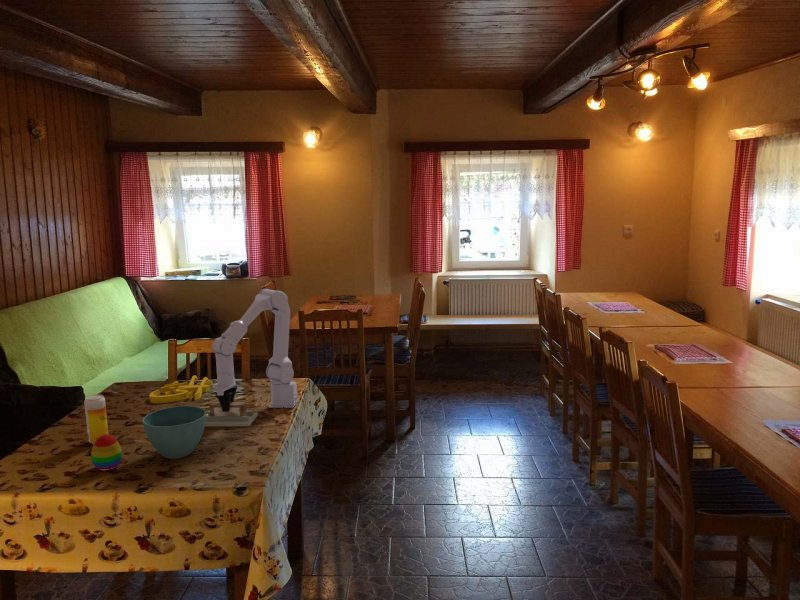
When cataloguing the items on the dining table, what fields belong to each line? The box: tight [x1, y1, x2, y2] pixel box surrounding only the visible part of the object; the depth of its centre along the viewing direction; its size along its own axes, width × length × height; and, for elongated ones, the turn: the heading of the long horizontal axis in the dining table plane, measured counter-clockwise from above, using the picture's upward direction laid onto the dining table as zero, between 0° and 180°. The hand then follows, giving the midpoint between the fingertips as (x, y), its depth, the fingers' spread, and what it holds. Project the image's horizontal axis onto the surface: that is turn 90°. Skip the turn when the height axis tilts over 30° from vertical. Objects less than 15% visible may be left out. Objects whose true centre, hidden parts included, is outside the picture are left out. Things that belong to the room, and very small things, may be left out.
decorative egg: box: [90, 434, 123, 470], centre depth 190 cm, size 8×8×10 cm
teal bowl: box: [142, 405, 207, 460], centre depth 199 cm, size 18×18×12 cm
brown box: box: [209, 401, 248, 416], centre depth 227 cm, size 12×4×5 cm, turn 88°
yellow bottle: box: [83, 394, 109, 445], centre depth 210 cm, size 6×6×15 cm
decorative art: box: [149, 374, 214, 404], centre depth 264 cm, size 21×3×30 cm
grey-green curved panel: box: [205, 409, 259, 427], centre depth 228 cm, size 18×11×2 cm, turn 88°
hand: (227, 409), depth 227 cm, fingers closed on brown box, 4 cm apart
